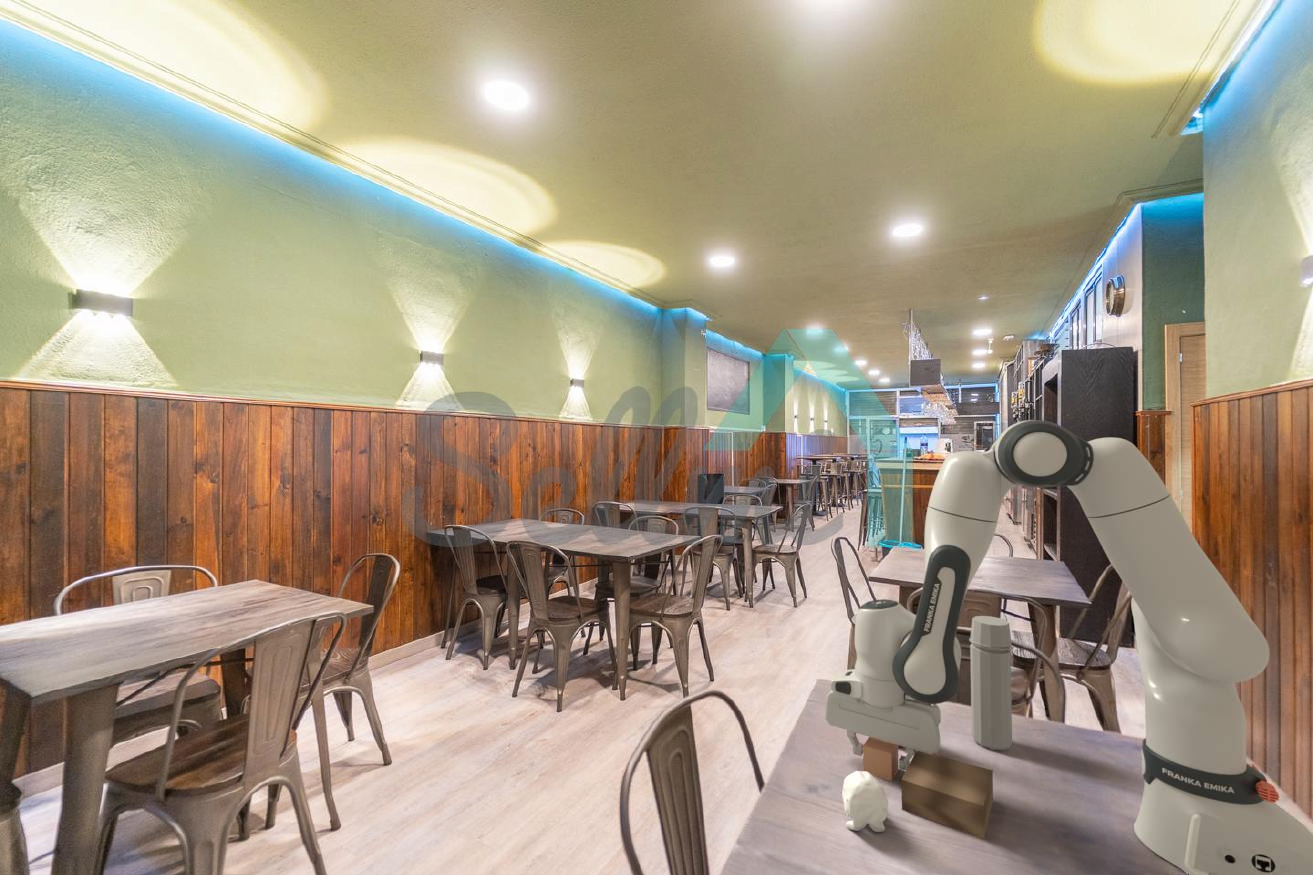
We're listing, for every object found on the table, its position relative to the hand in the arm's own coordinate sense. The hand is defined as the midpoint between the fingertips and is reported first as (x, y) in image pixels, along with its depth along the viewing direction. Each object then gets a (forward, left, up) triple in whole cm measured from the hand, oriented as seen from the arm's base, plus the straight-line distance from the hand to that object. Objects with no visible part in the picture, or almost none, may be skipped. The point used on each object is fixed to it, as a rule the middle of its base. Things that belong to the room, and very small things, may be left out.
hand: (880, 760), depth 107 cm
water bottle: (-16, -24, -2) cm, 29 cm away
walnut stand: (-12, +4, -2) cm, 13 cm away
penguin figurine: (-1, +16, -2) cm, 16 cm away
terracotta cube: (0, 0, -2) cm, 2 cm away
